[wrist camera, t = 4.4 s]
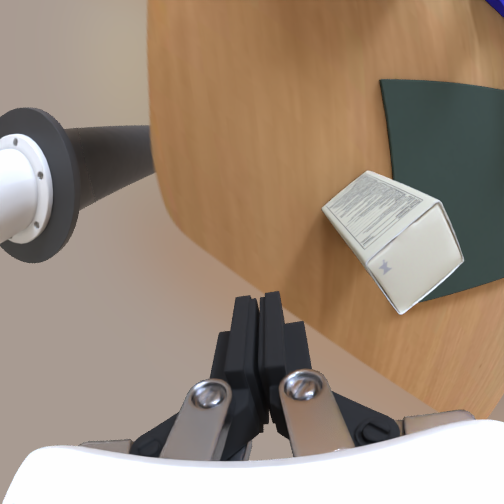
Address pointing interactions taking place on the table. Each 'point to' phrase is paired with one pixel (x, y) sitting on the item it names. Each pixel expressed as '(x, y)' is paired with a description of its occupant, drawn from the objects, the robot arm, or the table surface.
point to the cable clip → (497, 5)
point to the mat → (453, 166)
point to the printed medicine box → (396, 236)
